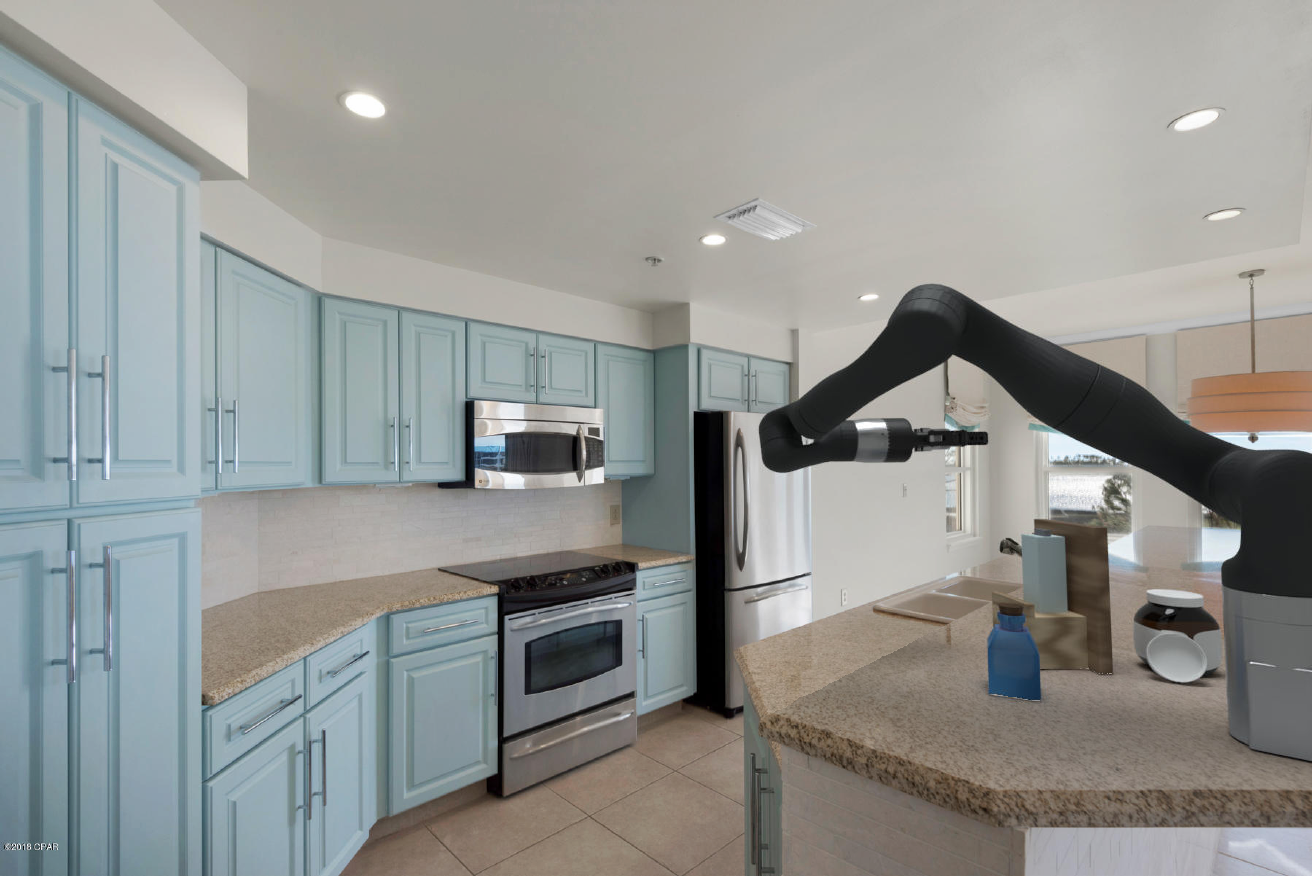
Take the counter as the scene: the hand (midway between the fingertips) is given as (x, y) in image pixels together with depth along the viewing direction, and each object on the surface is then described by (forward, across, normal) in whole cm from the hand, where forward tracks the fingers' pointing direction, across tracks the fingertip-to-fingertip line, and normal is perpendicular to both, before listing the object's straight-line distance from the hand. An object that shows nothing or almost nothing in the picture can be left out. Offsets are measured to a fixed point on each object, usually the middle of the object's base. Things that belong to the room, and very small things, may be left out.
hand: (973, 439), depth 106 cm
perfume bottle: (-4, -16, +36) cm, 40 cm away
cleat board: (+9, -3, +36) cm, 37 cm away
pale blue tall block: (+9, -3, +28) cm, 30 cm away
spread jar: (+24, -10, +36) cm, 45 cm away
